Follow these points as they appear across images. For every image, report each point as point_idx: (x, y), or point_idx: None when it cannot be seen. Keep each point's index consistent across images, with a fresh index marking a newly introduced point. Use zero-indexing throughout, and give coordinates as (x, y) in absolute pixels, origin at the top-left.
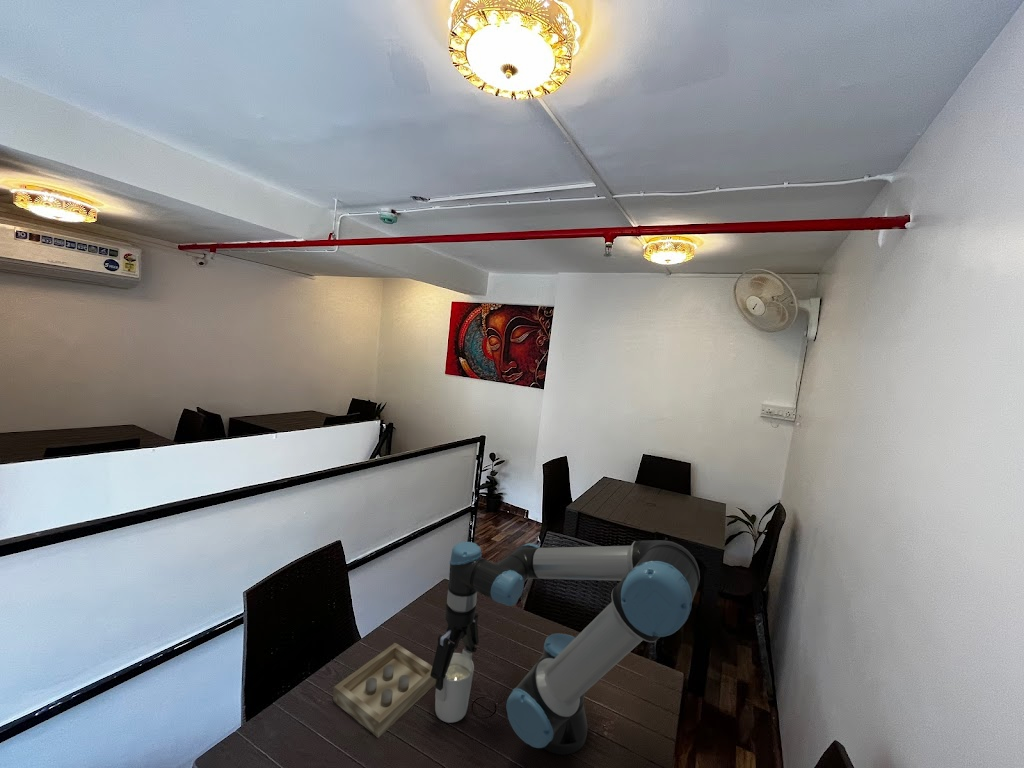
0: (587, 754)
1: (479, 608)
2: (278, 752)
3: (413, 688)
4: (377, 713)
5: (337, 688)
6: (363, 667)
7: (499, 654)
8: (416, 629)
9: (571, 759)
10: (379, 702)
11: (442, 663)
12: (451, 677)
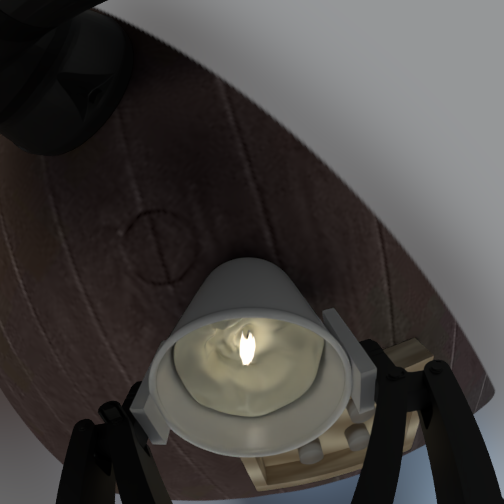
0: None
1: (45, 433)
2: (479, 379)
3: None
4: None
5: (411, 445)
6: (350, 470)
7: (42, 340)
8: (179, 481)
9: (115, 16)
10: None
11: (470, 425)
12: (235, 374)
